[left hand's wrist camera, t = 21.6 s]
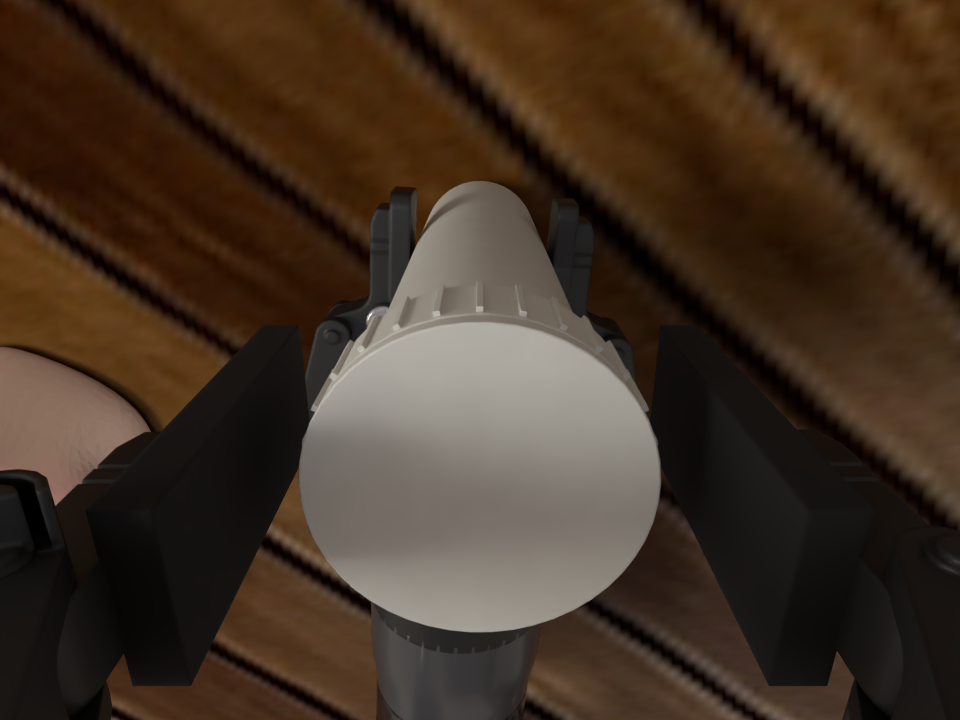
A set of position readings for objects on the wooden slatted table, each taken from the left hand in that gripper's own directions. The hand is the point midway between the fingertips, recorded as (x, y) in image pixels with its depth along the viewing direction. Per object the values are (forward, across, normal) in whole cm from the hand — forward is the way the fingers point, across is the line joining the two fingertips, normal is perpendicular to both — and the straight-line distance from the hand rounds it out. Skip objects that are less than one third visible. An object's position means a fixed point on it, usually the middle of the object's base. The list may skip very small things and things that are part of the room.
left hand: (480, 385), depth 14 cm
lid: (-4, 0, 0) cm, 4 cm away
